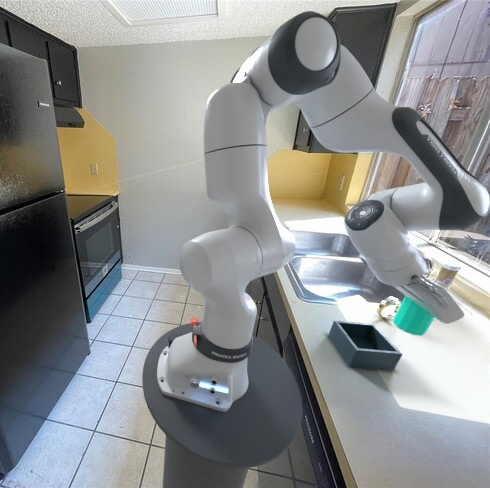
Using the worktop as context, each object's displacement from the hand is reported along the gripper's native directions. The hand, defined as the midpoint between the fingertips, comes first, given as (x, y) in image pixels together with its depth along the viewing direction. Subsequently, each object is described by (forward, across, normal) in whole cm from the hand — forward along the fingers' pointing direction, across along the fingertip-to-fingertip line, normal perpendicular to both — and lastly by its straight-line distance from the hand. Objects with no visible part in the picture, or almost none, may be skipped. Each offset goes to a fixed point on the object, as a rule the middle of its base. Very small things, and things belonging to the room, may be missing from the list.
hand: (422, 305), depth 59 cm
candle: (+4, 0, +5) cm, 7 cm away
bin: (+11, +5, +18) cm, 21 cm away
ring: (+24, +21, +5) cm, 32 cm away
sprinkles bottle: (+46, +38, -18) cm, 62 cm away
